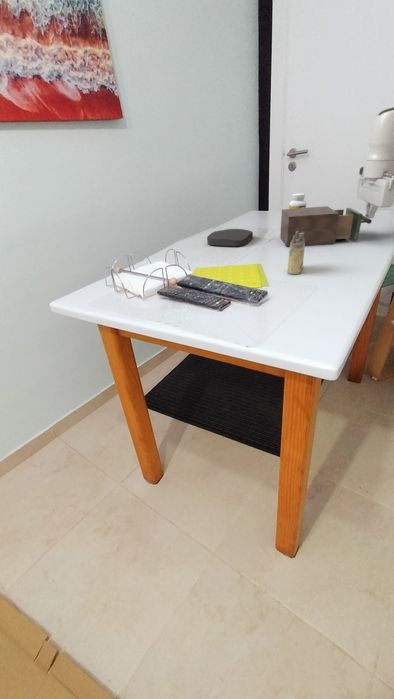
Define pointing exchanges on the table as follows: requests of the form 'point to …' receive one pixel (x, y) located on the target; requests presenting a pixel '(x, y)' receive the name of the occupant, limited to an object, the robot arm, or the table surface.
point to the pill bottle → (297, 201)
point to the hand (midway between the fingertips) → (369, 217)
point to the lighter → (296, 253)
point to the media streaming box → (230, 237)
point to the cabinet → (310, 225)
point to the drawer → (350, 223)
